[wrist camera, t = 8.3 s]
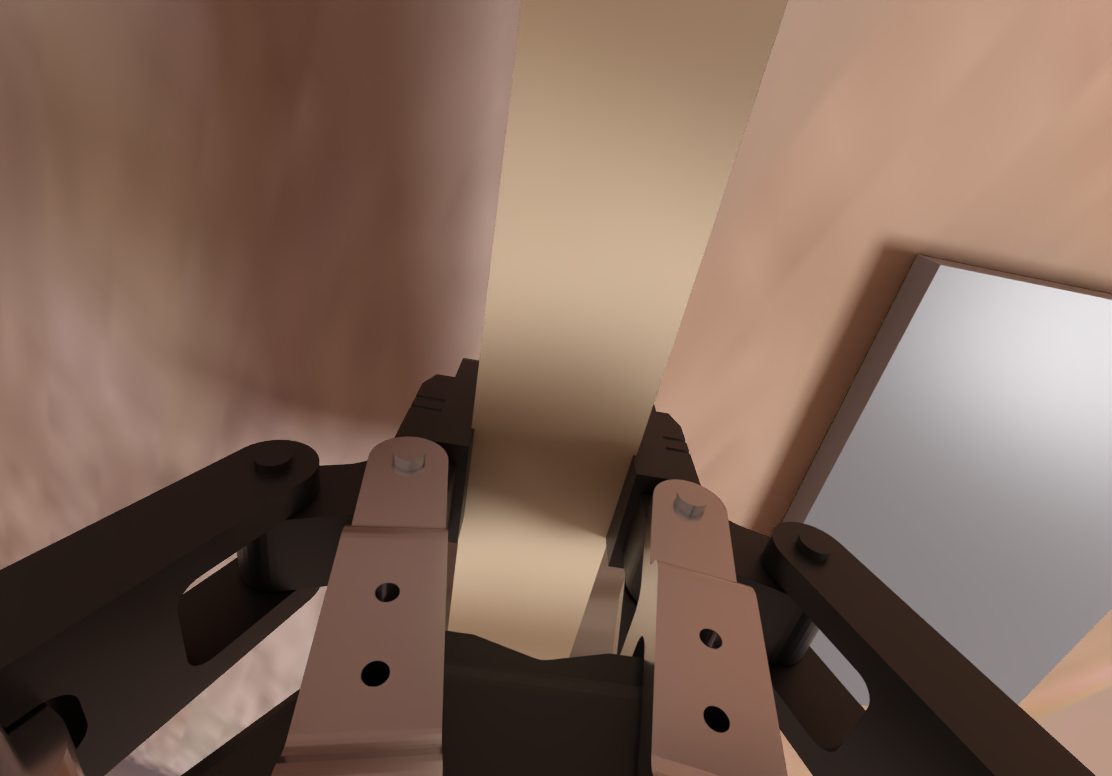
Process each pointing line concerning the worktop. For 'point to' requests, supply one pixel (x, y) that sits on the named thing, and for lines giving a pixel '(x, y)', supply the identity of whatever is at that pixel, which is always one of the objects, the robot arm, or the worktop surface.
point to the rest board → (978, 467)
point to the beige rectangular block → (590, 293)
